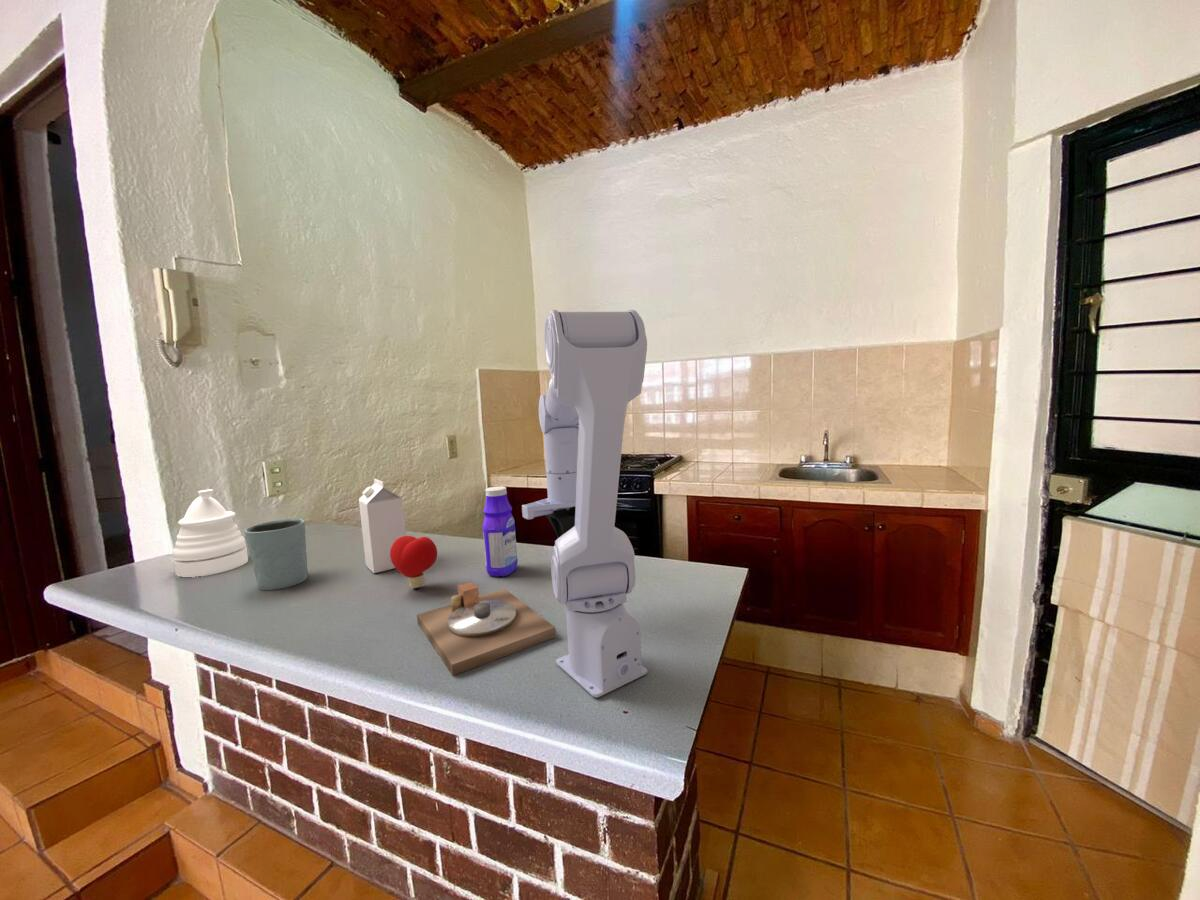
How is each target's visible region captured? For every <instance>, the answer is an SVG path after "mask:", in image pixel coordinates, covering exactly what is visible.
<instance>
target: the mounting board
mask: <svg viewBox="0 0 1200 900" xmlns="http://www.w3.org/2000/svg"><path fill="white" fill-rule="evenodd" d="M485 600H501V601H506V602H509V603H511V604H512V605H514V607H515V609H516V619H515V621H514V622H513V623H512V624H511V625H510V626H508V627H507V628H505V629H503V630H501V631H499V632H496V633H493V634H489V635H485V636H478V637H465V636H459V635H456V634H454V633H452V632H451V631H450V630H449V627H448V618H449V616H450V615H451V614H452V613H453V612H454V611H455V610H457V609H459V608H460V607H462V599H461V595H458V594H455V595H452V596H451V597H450V604H448V605H446V606H442V607H441V606H440V607H438V608H435V609H432V610H428V611H425V612H422V613H418V614H416V618H417V620H416V621H417V625H418V626H419V627H420V629H421V631H422V632H423V634H424V635H425V636H426V638H427V640H428V641H429V642H430V644H431V645H432V647H433V648H434V650H435V651H436V653H437V654H438V656H439V657H440V660H442V661H443V663H444V665H445V666H446V668H447V669H448V671H449V672H450V674H451V676H453V677H454V676H456V675H459V674H461V673H464V672H467V671H469V670H472V669H474V668H477V667H479V666H484V664H488V663H491V662H494V661H495V660H498V659H502V658H504V657H507V656H509V655H512V654H515V653H518V652H520V651H522V650H525V649H528V648H530V647H533V646H536V645H538V644H541V643H543V642H546V641H549V640H552V639H553V638H557V635H556V627H555V626H554V625H553V624H551V623H550V622H549V621H548V620H546V619H545V618H544V617H542V615H540V614H538V613H537V611H534V610H533V609H532V608H531V607H529V606H528V605H527V604H525V603H524V602H523V601H522V600H520V599H519V598H518V597H517V596H515V594H513V593H511V592H510V591H508V590H507V589H506V588H503V589H500V590H498V591H497V590H496V591H493V592H490V593H486V594H483V595H479V601H485ZM489 614H490V604H489V603H479V604H476V605H475V606H474V616H475V617H485V616H488V615H489Z"/></svg>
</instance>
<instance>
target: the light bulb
mask: <svg viewBox="0 0 1200 900" xmlns="http://www.w3.org/2000/svg"><path fill="white" fill-rule="evenodd" d="M437 557H438V548H437V545H436V544H435V542H434V541H433V540H432V539H431V538H429V537H428V536H420V537H418V538H417V537H415V536H412V535H406V536H403V537H400V538H398V539H397V540H396V541H395V542H394V543H393V544H392V547H391V550H390V558H391V562H392V564H393V565H394V567H395V568H394V569H396V570H397V572H399V573H400V574H401V575H402V576H403V577H407V578H408V586H409V587H411V588H413V590H419V589H420V588H421V587H422V586H423V585H424V584H425V577H424V576H425V575H424V574H425V573H424V572H426V571H427V570H429V569H430V568H432V567H433V566H434V564H435V563H436V561H437Z"/></svg>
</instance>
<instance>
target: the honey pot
mask: <svg viewBox="0 0 1200 900" xmlns="http://www.w3.org/2000/svg"><path fill="white" fill-rule="evenodd" d="M197 493H198V495H199V496H198V497H197V498H195V499H194V500H193V501H192V502H191V504H190V505H189V506H188V507H187V510H186V512H185V514H184V516H183V518H181V519H180V520H179V521H178V522H177V524H178V525H179V526H180V527H179V531H178V533H177V535H176V541H175V543H174V545H175V546H174V548H173V550H172V558H173V567H174V573H175V576H176V575H177V576H182V577H192V578H199V577H198V576H201V577H207V576H211V575H216V574H219V573H226V572H228V571H231V570H234V569H236V568H239V567H241V566H243V565H245V564H247V563H248V562H249V557H248V549H247V542H246V537H244V536H243V535H242V532H241V530H240V529H239V526H238V524H236V523H235V521H234V519H233V518H235V517H236V512H235V511H230V510H226V509H225V507H224V505H222V504H221V503H220V502H219V501H218V500H217V499H215V498H214V497H212V496H213V494H214V489H213V488H212V489H203V490H199V491H197ZM177 576H176V577H177ZM195 576H197V577H195Z"/></svg>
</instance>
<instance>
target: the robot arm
mask: <svg viewBox="0 0 1200 900" xmlns="http://www.w3.org/2000/svg"><path fill="white" fill-rule="evenodd" d="M544 351H545V358H546V359H545V360H546V364H547V367H548V369H549V370H548V371H549V373H550V380H549V383H548V387H547V391H546V394H541V395H540V396H539V402H538V420H539V426H540V429H541V432H542V433H543V442H544V455H545V456H544V457H545V472H546V475H545V476H546V487H547V488H546V491H547V493H546V494H547V498H544V499H540V500H537V501H534V502H530V503H527V504H522V505H521V513H522V518H524V519H525V520H533V519H534V518H537V517H542V516H546V518H547V520H548V521H549V523H550V524H551V526H552V528H553V530H554V533H555V535H556V536H557V539H556V540H554V546H553V548H552V550H553V551H552V556H551V558H550V559H551V560H550V573H551V575H550V576H551V582H552V591H553V594H554V595H553V596H554V598H555V600H556V601H557V602H558V603H560V604H561V605H565V614H566V615H565V617H566V632H567V633H566V636H567V650H568V651H567V653H568V654H565V655H562V656H561V657H558V658H557V659H556V660H555V663H556V665H558V667H560V668H561V670H563V671H564V672H565V673H566V674H568V676H570V677H571V678H572V679H573V680H574V681H575V683H577V684H579V686H580V687H582V688H583V690H585V691H586V692H588V694H590V695H591V696H592V697H594V698H596V699H597V698H600V697H602V696H604V695H606V694H608V693H610V692H612V691H615V690H616V689H618V688H620V687H622V686H624V685H626V684H629V683H631V682H633V681H634V680H637V679H639V678H640V677H642V676H645V675H646V674H648V669H647V668H646V667H645V666H644V665H642V645H641V641H642V640H641V629H640V625H639V623H638V621H637V620H636V618H634V617H633V616H632V615H631V614H630V613H629V612H628V609H626V607H625V605H624V604H625V603H627V595H629V594H631V592H633V590H634V588H635V586H636V585H635V584H636V567H635V565H636V564H635V557H636V556H635V550H634V547H633V545H632V543H631V541H630V539H629V537H628V535H627V534H626V533H625V532H624V531H623V530H621V529H620V528H618V527H616V525H615V523H616V515H617V504H618V503H617V502H618V492H619V482H620V481H619V480H620V472H621V471H620V470H621V462H622V461H621V460H622V451H623V440H624V439H623V438H624V430H625V429H624V428H625V421H626V417H627V409H628V404H629V403H631V401H633V400H634V399H636V398H637V397H638V396H640V395H641V394H642V388H643V387H642V385H643V382H644V378H645V369H646V361H647V360H646V359H647V351H648V339H647V334H646V328H645V323H644V320H643V318H642V317H641V316H640V314H639V313H638V312H637V310H634V309H628V310H627V311H558V310H556V309H552V310H551V311H550V312H549V313H548V315H546V317H545V322H544Z"/></svg>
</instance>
